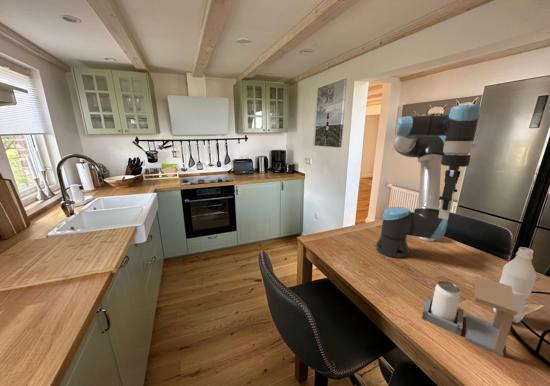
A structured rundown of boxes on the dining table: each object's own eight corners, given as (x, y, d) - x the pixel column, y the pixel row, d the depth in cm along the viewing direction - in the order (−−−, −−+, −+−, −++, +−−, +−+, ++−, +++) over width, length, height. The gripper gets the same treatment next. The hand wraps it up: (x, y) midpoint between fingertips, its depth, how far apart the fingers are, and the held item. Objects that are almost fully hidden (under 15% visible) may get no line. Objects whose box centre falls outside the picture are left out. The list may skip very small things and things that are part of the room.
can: (458, 326, 70) (466, 294, 67) (435, 323, 72) (442, 291, 69) (447, 311, 77) (454, 281, 74) (427, 308, 78) (432, 278, 75)
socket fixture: (421, 321, 73) (428, 281, 69) (427, 299, 82) (434, 263, 78) (502, 358, 60) (517, 311, 57) (499, 327, 70) (511, 286, 66)
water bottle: (485, 309, 77) (502, 244, 71) (503, 307, 78) (523, 243, 71) (507, 326, 70) (529, 256, 64) (528, 324, 71) (551, 254, 64)
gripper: (470, 157, 63) (456, 226, 69) (471, 152, 81) (460, 206, 87) (438, 156, 68) (427, 220, 74) (446, 151, 86) (436, 203, 92)
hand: (445, 213), depth 80 cm, fingers open, 13 cm apart
